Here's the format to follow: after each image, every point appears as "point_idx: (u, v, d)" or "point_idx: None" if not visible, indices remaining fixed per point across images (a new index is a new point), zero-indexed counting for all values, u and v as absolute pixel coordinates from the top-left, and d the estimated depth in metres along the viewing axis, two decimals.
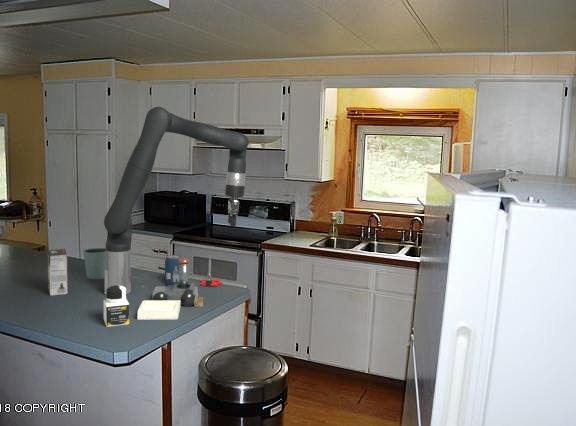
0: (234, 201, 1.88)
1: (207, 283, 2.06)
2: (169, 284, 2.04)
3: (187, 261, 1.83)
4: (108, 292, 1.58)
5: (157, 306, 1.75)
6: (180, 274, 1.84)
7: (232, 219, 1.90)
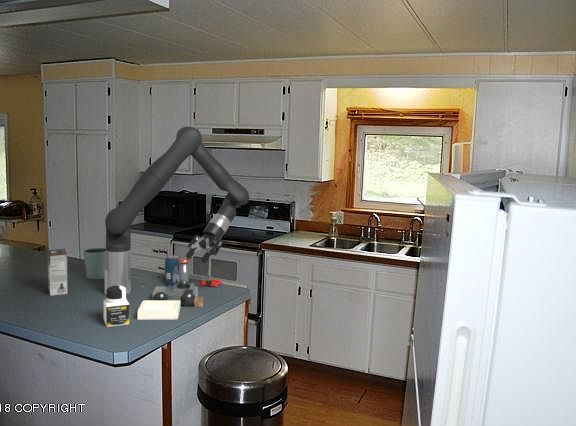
0: (220, 242, 1.89)
1: (207, 283, 2.06)
2: (169, 284, 2.04)
3: (187, 261, 1.83)
4: (108, 292, 1.58)
5: (157, 306, 1.75)
6: (180, 274, 1.84)
7: (207, 256, 1.87)
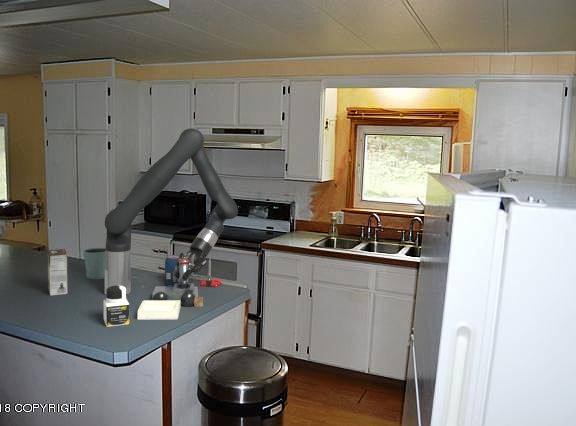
0: (204, 261, 1.84)
1: (207, 283, 2.06)
2: (169, 284, 2.04)
3: (187, 261, 1.83)
4: (108, 292, 1.58)
5: (157, 306, 1.75)
6: (179, 274, 1.84)
7: (188, 273, 1.83)
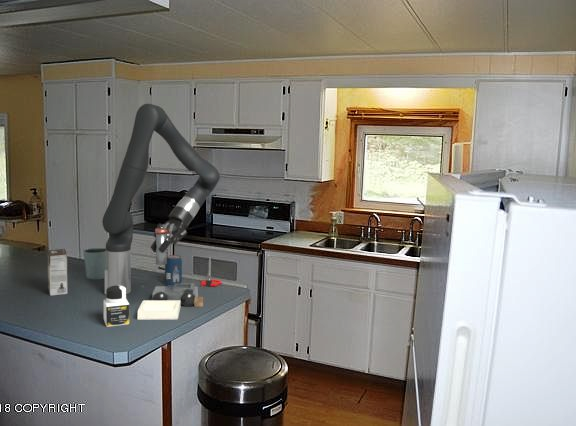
0: (183, 231, 1.67)
1: (207, 283, 2.06)
2: (169, 284, 2.04)
3: (165, 231, 1.66)
4: (108, 292, 1.58)
5: (157, 306, 1.75)
6: (156, 246, 1.67)
7: (166, 244, 1.66)
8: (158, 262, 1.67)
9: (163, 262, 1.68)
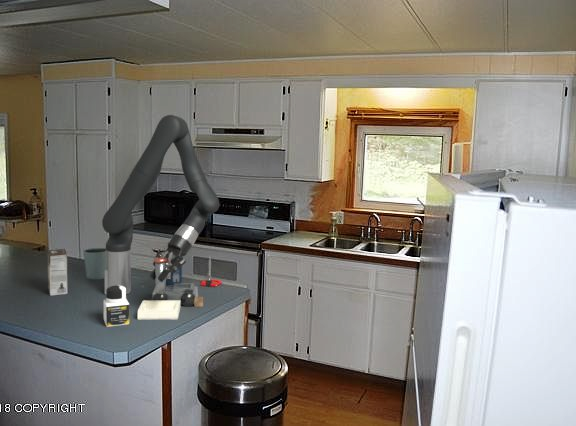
0: (182, 260, 1.68)
1: (207, 283, 2.06)
2: (169, 284, 2.04)
3: (163, 260, 1.67)
4: (108, 292, 1.58)
5: (157, 306, 1.75)
6: (156, 275, 1.68)
7: (165, 274, 1.67)
8: (157, 291, 1.68)
9: (163, 291, 1.69)
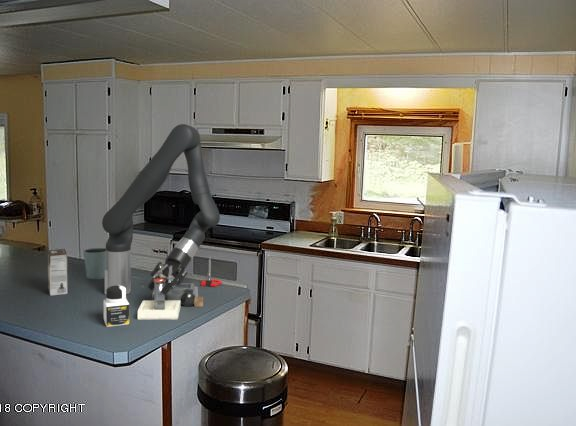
0: (184, 271, 1.69)
1: (207, 283, 2.06)
2: None
3: (163, 280, 1.68)
4: (108, 292, 1.58)
5: None
6: (155, 294, 1.69)
7: (168, 287, 1.67)
8: None
9: None
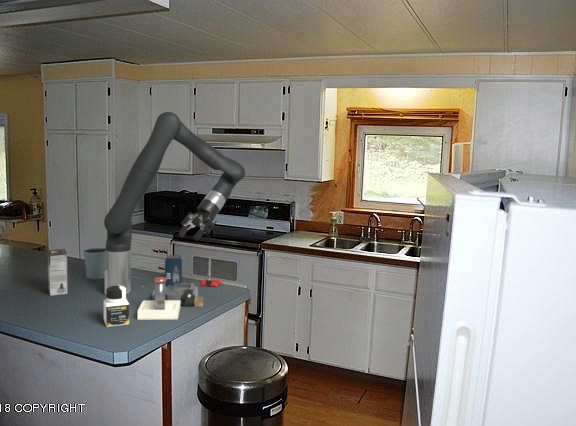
0: (214, 219, 1.81)
1: (207, 283, 2.06)
2: (169, 284, 2.04)
3: (163, 280, 1.68)
4: (108, 292, 1.58)
5: None
6: (155, 294, 1.69)
7: (200, 233, 1.78)
8: None
9: None
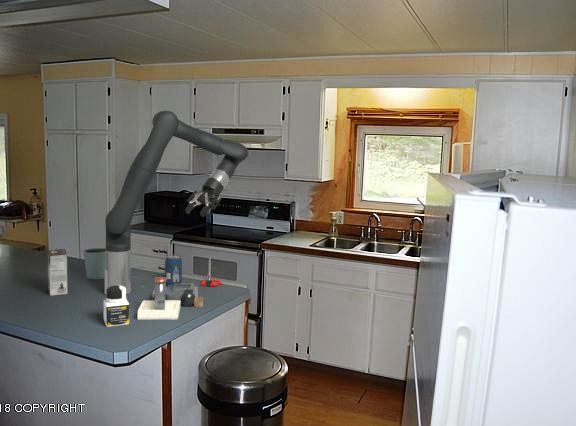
0: (219, 196, 1.88)
1: (207, 283, 2.06)
2: (169, 284, 2.04)
3: (163, 281, 1.68)
4: (108, 292, 1.58)
5: None
6: (155, 294, 1.69)
7: (206, 209, 1.86)
8: None
9: None
